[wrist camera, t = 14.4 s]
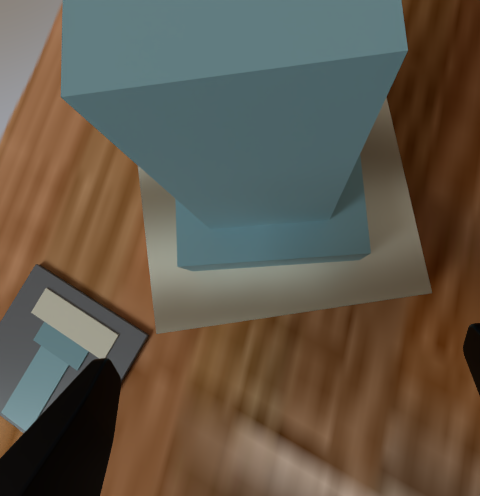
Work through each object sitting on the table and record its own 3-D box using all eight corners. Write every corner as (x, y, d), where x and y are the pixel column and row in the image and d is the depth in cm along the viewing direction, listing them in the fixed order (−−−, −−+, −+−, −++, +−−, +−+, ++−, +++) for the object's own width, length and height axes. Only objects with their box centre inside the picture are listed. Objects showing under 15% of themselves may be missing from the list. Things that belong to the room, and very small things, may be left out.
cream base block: (410, 294, 20) (432, 292, 17) (174, 329, 21) (156, 333, 18) (361, 74, 22) (372, 38, 19) (149, 118, 23) (129, 91, 20)
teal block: (359, 260, 17) (551, 144, 5) (192, 271, 18) (-34, 201, 6) (343, 100, 18) (458, -344, 6) (187, 119, 20) (-9, -224, 7)
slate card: (73, 465, 20) (68, 468, 20) (-34, 384, 22) (-40, 386, 21) (149, 335, 21) (146, 335, 20) (39, 264, 22) (34, 264, 22)
